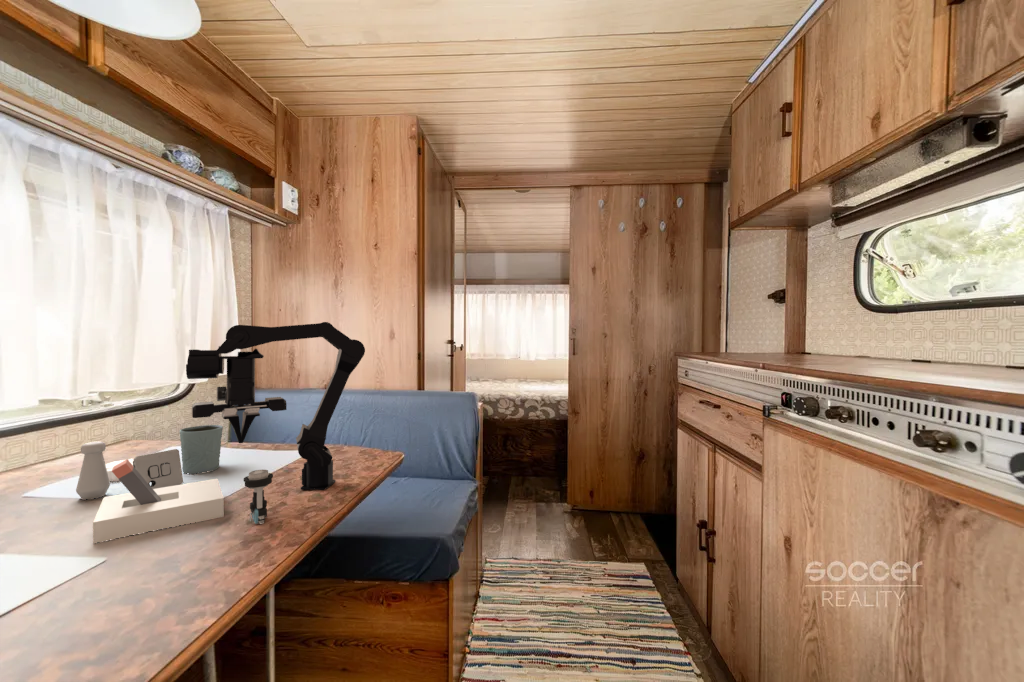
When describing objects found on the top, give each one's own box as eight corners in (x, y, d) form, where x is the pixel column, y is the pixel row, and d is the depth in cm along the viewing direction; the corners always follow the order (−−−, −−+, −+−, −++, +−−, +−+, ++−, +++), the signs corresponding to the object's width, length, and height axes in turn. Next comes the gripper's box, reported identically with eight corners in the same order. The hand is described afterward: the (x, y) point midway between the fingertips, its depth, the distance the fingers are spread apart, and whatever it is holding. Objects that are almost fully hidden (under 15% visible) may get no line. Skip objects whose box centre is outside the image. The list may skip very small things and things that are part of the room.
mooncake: (85, 480, 115) (86, 466, 115) (136, 467, 127) (136, 455, 127) (117, 484, 112) (117, 470, 112) (165, 471, 123) (165, 458, 123)
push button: (276, 522, 88) (276, 474, 88) (246, 529, 85) (246, 479, 85) (270, 512, 94) (270, 466, 94) (241, 518, 90) (241, 471, 90)
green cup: (175, 476, 118) (175, 433, 118) (183, 467, 127) (183, 426, 127) (220, 471, 122) (220, 429, 122) (224, 462, 131) (224, 423, 131)
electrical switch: (139, 496, 103) (137, 457, 104) (129, 494, 106) (128, 456, 106) (184, 484, 111) (182, 448, 112) (174, 483, 114) (172, 448, 114)
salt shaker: (114, 494, 104) (114, 441, 104) (83, 503, 99) (83, 446, 98) (102, 491, 106) (102, 438, 106) (71, 499, 101) (71, 443, 101)
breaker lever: (161, 498, 93) (127, 459, 89) (160, 504, 90) (125, 463, 86) (148, 506, 91) (113, 466, 88) (147, 512, 88) (111, 471, 85)
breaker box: (217, 495, 104) (217, 478, 104) (223, 516, 91) (223, 497, 91) (103, 515, 92) (103, 497, 91) (93, 544, 79) (93, 522, 79)
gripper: (278, 373, 115) (278, 432, 115) (191, 377, 103) (190, 442, 103) (287, 376, 106) (286, 439, 106) (192, 380, 94) (192, 451, 94)
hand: (240, 442), depth 103 cm, fingers closed
